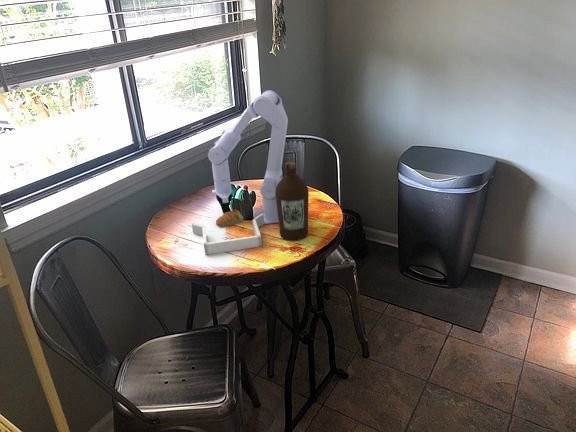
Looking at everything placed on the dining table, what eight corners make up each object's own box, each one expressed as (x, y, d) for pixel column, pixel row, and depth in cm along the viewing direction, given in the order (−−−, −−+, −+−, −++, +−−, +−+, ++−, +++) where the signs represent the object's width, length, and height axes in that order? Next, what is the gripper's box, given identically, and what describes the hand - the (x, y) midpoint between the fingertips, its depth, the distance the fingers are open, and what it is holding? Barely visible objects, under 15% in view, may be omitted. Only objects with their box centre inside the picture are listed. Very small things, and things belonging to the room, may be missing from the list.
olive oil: (277, 227, 160) (273, 158, 149) (308, 226, 161) (306, 156, 149) (278, 243, 151) (273, 170, 140) (311, 241, 151) (308, 168, 140)
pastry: (223, 230, 161) (221, 220, 160) (212, 224, 166) (210, 214, 164) (244, 221, 167) (243, 211, 165) (233, 215, 171) (232, 206, 170)
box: (264, 222, 165) (263, 213, 163) (272, 244, 150) (271, 234, 149) (193, 232, 161) (191, 223, 159) (194, 256, 146) (192, 246, 145)
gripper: (209, 172, 171) (213, 206, 177) (211, 187, 158) (216, 223, 164) (228, 170, 172) (232, 203, 178) (232, 184, 159) (236, 220, 165)
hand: (226, 212), depth 171 cm, fingers closed
